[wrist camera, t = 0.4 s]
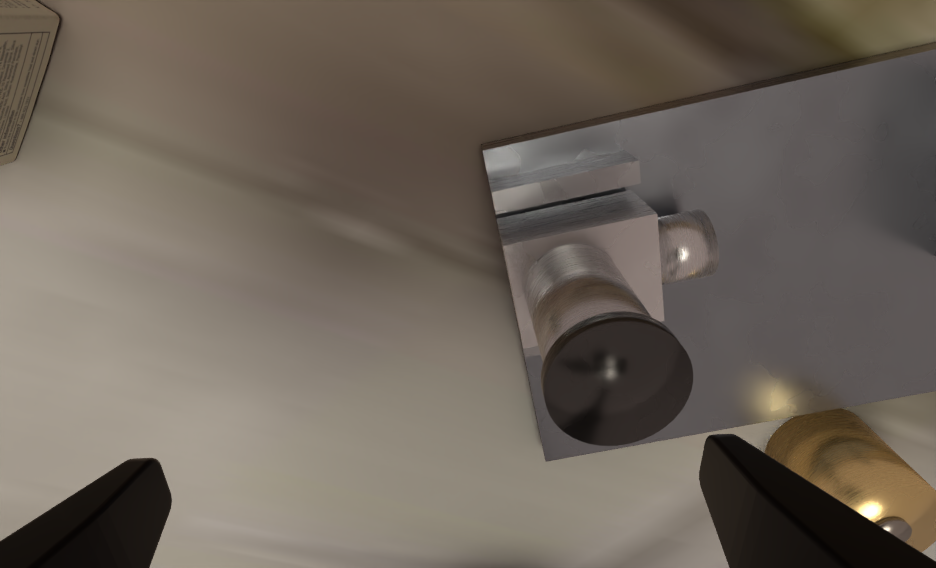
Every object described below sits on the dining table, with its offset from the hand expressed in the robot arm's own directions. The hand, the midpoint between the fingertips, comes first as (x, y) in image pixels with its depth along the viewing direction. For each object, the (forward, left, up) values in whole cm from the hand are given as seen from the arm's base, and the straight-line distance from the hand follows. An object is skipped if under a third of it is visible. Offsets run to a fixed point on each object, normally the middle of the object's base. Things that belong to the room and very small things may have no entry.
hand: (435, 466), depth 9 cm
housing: (-16, -15, -14) cm, 26 cm away
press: (-5, -11, -14) cm, 19 cm away
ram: (-2, -5, -12) cm, 13 cm away
